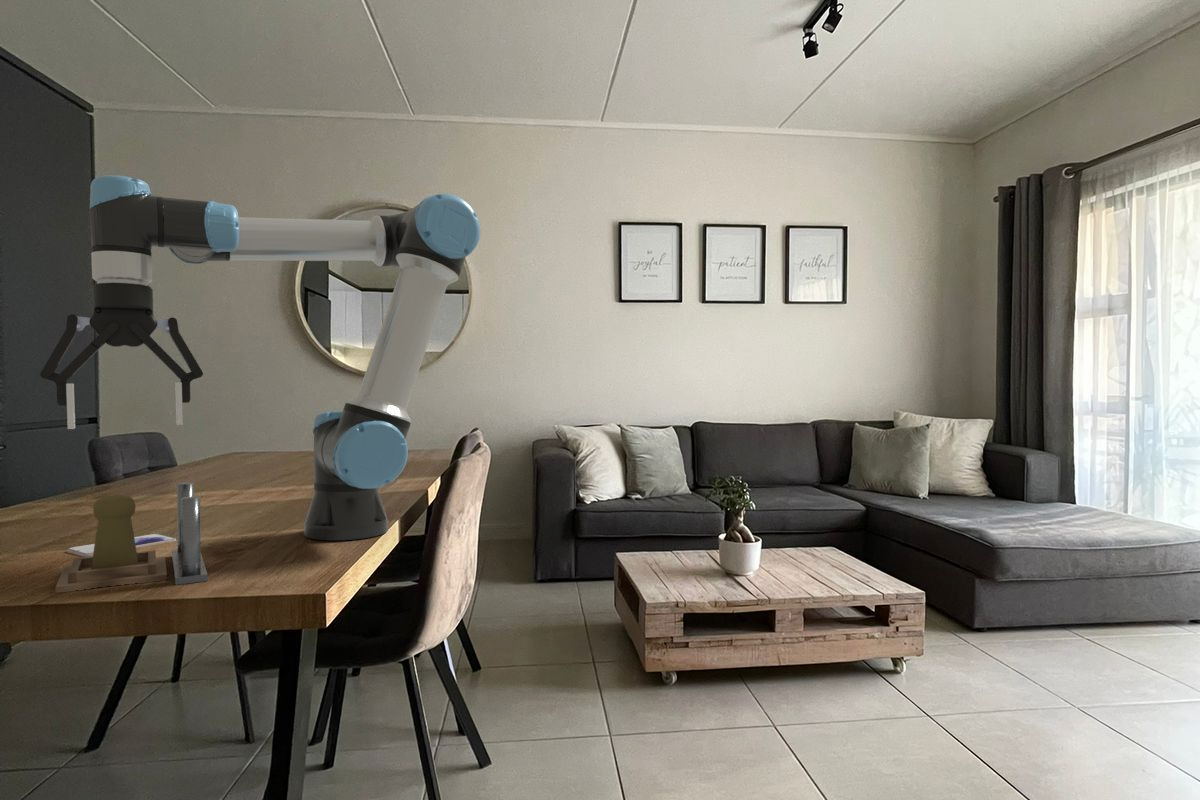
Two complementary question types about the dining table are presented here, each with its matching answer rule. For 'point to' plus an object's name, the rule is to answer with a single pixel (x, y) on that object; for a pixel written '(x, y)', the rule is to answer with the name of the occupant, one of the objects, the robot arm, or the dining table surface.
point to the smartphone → (139, 542)
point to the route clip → (188, 538)
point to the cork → (114, 533)
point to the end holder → (111, 573)
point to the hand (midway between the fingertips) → (127, 426)
